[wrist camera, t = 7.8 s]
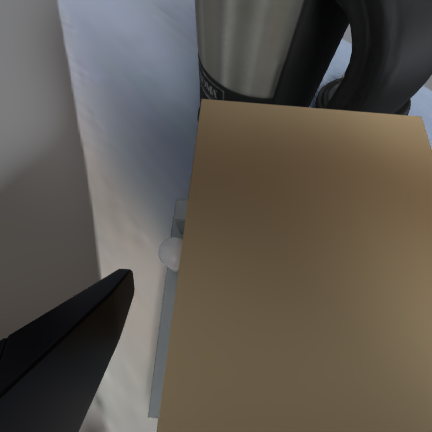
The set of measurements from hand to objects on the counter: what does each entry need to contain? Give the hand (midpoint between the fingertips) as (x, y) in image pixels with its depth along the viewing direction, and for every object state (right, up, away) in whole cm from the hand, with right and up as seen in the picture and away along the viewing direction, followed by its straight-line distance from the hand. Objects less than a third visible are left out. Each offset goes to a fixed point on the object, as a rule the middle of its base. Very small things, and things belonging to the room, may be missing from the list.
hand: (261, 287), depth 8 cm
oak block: (0, -2, +7) cm, 7 cm away
